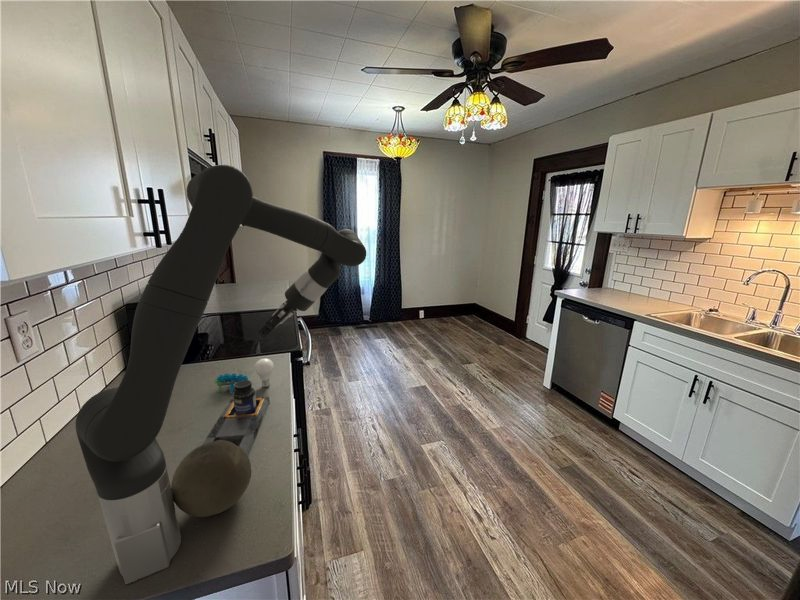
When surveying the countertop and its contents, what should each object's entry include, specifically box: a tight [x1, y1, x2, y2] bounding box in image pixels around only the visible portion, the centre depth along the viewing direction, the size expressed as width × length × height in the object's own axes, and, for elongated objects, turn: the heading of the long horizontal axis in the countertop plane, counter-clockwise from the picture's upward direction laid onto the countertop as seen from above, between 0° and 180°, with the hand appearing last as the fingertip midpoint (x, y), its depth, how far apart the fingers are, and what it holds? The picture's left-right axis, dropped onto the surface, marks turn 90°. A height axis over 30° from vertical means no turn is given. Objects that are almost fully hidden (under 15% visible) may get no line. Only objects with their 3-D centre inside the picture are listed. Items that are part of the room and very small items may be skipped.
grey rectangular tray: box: [201, 396, 271, 456], centre depth 92 cm, size 28×12×3 cm, turn 9°
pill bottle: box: [232, 379, 257, 415], centre depth 99 cm, size 6×6×11 cm
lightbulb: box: [254, 357, 275, 388], centre depth 115 cm, size 6×6×11 cm
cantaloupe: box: [170, 440, 252, 518], centre depth 67 cm, size 14×14×15 cm
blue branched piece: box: [214, 373, 249, 394], centre depth 113 cm, size 11×6×10 cm
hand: (268, 329), depth 88 cm, fingers open, 8 cm apart
